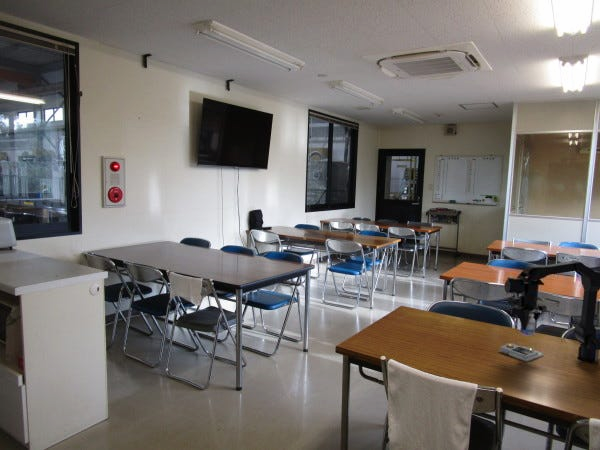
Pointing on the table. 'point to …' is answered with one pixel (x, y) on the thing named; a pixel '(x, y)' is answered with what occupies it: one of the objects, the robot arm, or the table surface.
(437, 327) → the table surface
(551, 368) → the table surface
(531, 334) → the pill bottle
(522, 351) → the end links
